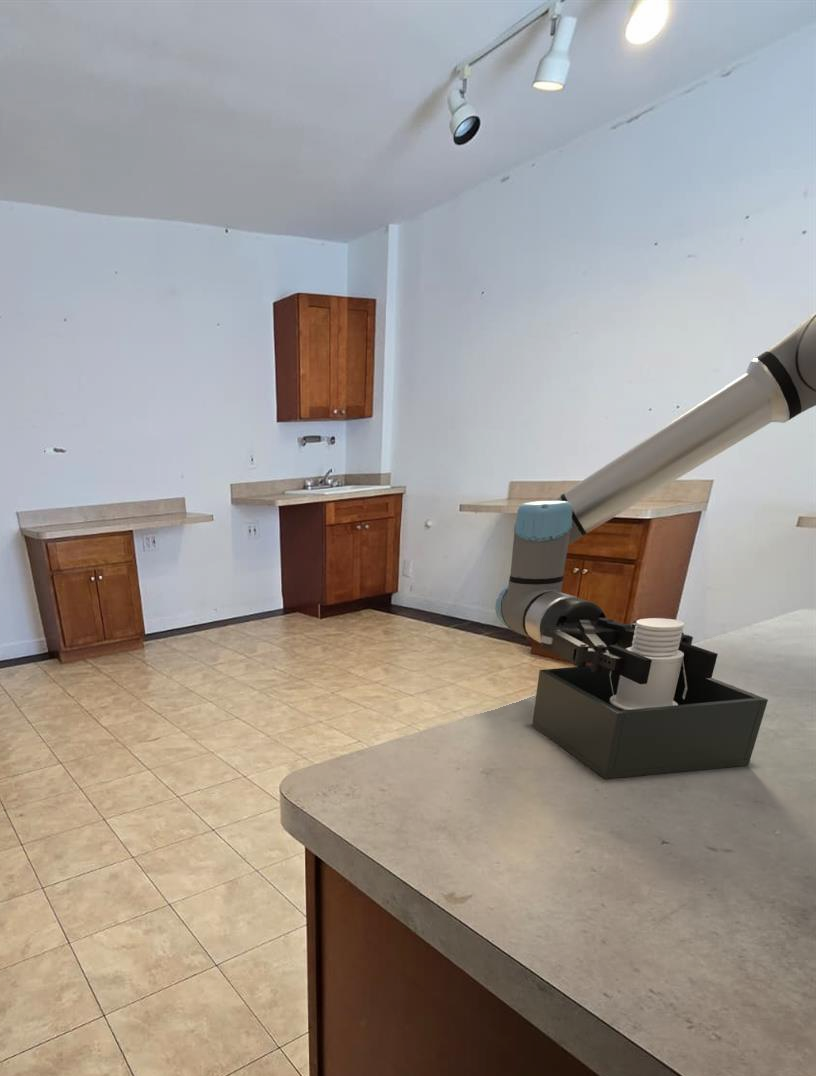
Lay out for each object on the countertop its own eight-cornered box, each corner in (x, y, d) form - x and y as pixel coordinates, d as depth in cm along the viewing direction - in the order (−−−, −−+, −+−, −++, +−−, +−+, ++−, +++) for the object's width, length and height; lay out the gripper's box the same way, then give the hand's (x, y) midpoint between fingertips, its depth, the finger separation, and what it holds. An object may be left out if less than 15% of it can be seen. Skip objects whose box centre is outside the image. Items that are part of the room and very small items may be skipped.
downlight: (607, 713, 75) (623, 629, 70) (601, 694, 81) (616, 615, 76) (687, 718, 72) (709, 630, 68) (675, 698, 78) (695, 616, 73)
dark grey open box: (651, 714, 86) (663, 658, 83) (748, 765, 71) (768, 699, 68) (531, 725, 86) (539, 669, 82) (604, 779, 71) (617, 713, 67)
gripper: (627, 644, 92) (755, 694, 71) (495, 655, 91) (585, 709, 70) (637, 591, 89) (775, 627, 68) (500, 602, 88) (597, 642, 67)
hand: (678, 669), depth 69 cm, fingers closed on downlight, 7 cm apart
